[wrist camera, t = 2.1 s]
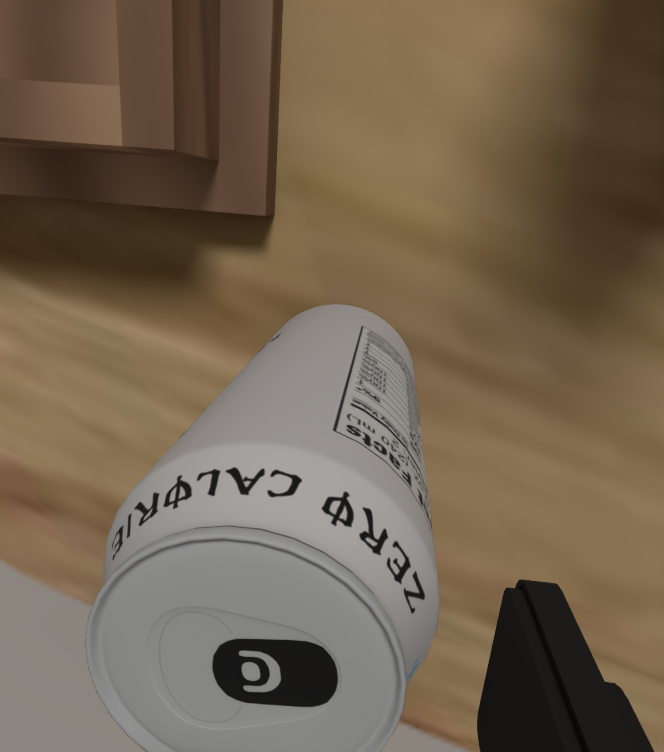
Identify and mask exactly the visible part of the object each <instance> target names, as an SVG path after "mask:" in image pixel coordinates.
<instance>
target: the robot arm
mask: <svg viewBox="0 0 664 752" xmlns="http://www.w3.org/2000/svg"><path fill="white" fill-rule="evenodd" d="M477 732H478V741H479V746H480V752H654V750H653V748H652V746H651V744H650V742H649V740H648V738H647V736H646V734H645V732H644V730H643V728H642V726H641V724H640V722H639V720H638V718H637V716H636V714H635V712H634V710H633V708H632V706H631V704H630V702H629V700H628V699H627V697H626V695H625V694H624V692H623V691H622V689H621V688H620V687H619V686H617V685H616V684H615V683H609V682H605V681H604V679H603V677H602V675H601V673H600V671H599V669H598V667H597V664H596V662H595V660H594V658H593V656H592V654H591V652H590V649H589V647H588V645H587V643H586V641H585V639H584V637H583V635H582V632H581V630H580V628H579V626H578V624H577V622H576V620H575V618H574V615H573V613H572V611H571V609H570V607H569V605H568V603H567V601H566V598H565V596H564V594H563V592H562V590H561V588H560V587H559V585H557V584H555V583H547V582H538V581H530V580H519V581H518V582H517V584H516V587H515V588H506V589H505V591H504V594H503V598H502V603H501V607H500V612H499V617H498V621H497V626H496V631H495V635H494V640H493V645H492V649H491V654H490V659H489V663H488V668H487V673H486V677H485V682H484V687H483V692H482V696H481V701H480V706H479V710H478V718H477Z"/></svg>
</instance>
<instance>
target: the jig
mask: <svg viewBox="0 0 664 752" xmlns="http://www.w3.org/2000/svg"><path fill="white" fill-rule="evenodd" d="M282 10H283V0H0V194H6V195H18V196H30V197H42V198H54V199H67V200H79V201H91V202H103V203H115V204H127V205H139V206H151V207H164V208H176V209H188V210H200V211H212V212H224V213H236V214H248V215H261V216H270V215H274V212H275V187H276V162H277V136H278V111H279V86H280V61H281V36H282Z"/></svg>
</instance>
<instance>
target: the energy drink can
mask: <svg viewBox="0 0 664 752" xmlns="http://www.w3.org/2000/svg"><path fill="white" fill-rule="evenodd" d="M439 607H440V595H439V586H438V577H437V569H436V560H435V551H434V542H433V533H432V525H431V516H430V507H429V498H428V490H427V481H426V472H425V463H424V455H423V446H422V437H421V428H420V420H419V411H418V402H417V393H416V385H415V376H414V367H413V362H412V359H411V356H410V353H409V350H408V348H407V347H406V345H405V343H404V341H403V340H402V338H401V336H400V335H399V334H398V333H397V332H396V331H395V330H394V329H393V327H392V326H391V325H389V324H388V323H387V322H385V321H384V320H383V319H382V318H380V317H379V316H377V315H375V314H373V313H371V312H369V311H367V310H365V309H362V308H358V307H354V306H350V305H338V304H332V305H324V306H318V307H315V308H312V309H309V310H306V311H303V312H302V313H300V314H298V315H297V316H295V317H293V318H292V319H290V320H289V321H288V322H287V323H286V324H285V325H284V326H283V327H282V328H280V329H279V331H278V332H277V333H276V334H275V335H274V336H273V337H272V338H271V339H270V340H269V341H268V343H267V344H266V345H265V346H264V347H263V348H262V349H261V350H260V351H259V352H258V353H257V354H256V356H255V357H254V358H253V359H252V360H251V361H250V362H249V363H248V364H247V365H246V366H245V367H244V369H243V370H242V371H241V372H240V373H239V374H238V375H237V376H236V377H235V378H234V379H233V380H232V382H231V383H230V384H229V385H228V386H227V387H226V388H225V389H224V390H223V391H222V392H221V393H220V395H219V396H218V397H217V398H216V399H215V400H214V401H213V402H212V403H211V404H210V405H209V406H208V408H207V409H206V410H205V411H204V412H203V413H202V414H201V415H200V416H199V417H198V418H197V420H196V421H195V422H194V423H193V424H192V425H191V426H190V427H189V428H188V429H187V430H186V431H185V433H184V434H183V435H182V436H181V437H180V438H179V439H178V440H177V441H176V442H175V443H174V444H173V446H172V447H171V448H170V449H169V450H168V451H167V452H166V453H165V454H164V455H163V456H162V457H161V459H160V460H159V461H158V462H157V463H156V464H155V465H154V466H153V467H152V468H151V469H150V470H149V472H148V473H147V474H146V475H145V476H144V477H143V478H142V479H141V480H140V481H139V482H138V484H137V485H136V486H135V487H134V488H133V489H132V491H131V492H130V494H129V495H128V497H127V498H126V499H125V501H124V502H123V504H122V505H121V507H120V508H119V510H118V511H117V514H116V516H115V519H114V522H113V524H112V527H111V529H110V532H109V535H108V538H107V546H106V554H105V562H104V586H103V587H102V589H101V590H100V591H99V593H98V594H97V596H96V599H95V602H94V604H93V607H92V609H91V612H90V614H89V617H88V623H87V632H86V640H85V647H86V655H87V663H88V669H89V672H90V675H91V678H92V680H93V683H94V686H95V689H96V692H97V694H98V695H99V697H100V699H101V701H102V702H103V704H104V706H105V707H106V709H107V711H108V712H109V714H110V716H111V717H112V718H113V719H114V720H115V721H116V723H117V724H118V725H119V726H120V727H121V728H122V730H123V731H124V732H125V733H126V734H127V735H128V736H129V737H130V738H131V739H132V740H133V741H135V742H136V743H137V744H138V745H139V746H140V747H142V748H143V749H144V750H145V751H146V752H381V750H382V749H383V747H384V746H385V745H386V743H387V742H388V740H389V739H390V738H391V736H392V735H393V734H394V732H395V730H396V727H397V725H398V722H399V719H400V717H401V714H402V712H403V709H404V701H405V692H406V685H407V683H408V682H409V680H410V679H411V678H412V676H413V675H414V673H415V672H416V670H417V669H418V668H419V666H420V665H421V663H422V662H423V660H424V659H425V657H426V655H427V653H428V650H429V648H430V645H431V642H432V640H433V637H434V635H435V632H436V630H437V623H438V615H439Z"/></svg>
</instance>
